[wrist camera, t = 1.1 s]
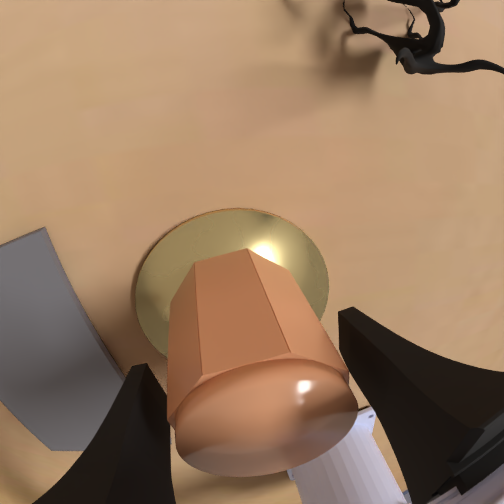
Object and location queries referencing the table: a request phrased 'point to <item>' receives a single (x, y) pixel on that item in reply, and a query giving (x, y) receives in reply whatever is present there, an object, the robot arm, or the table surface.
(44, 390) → the charcoal mat
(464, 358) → the table surface
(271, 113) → the table surface
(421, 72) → the creature
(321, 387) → the octagonal domed knob
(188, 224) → the brass token
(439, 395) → the robot arm
